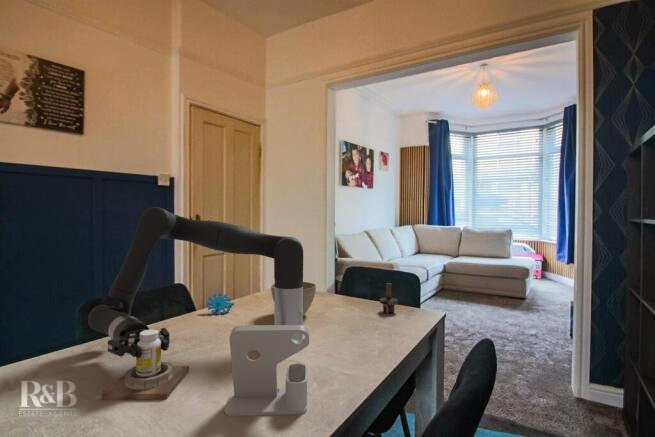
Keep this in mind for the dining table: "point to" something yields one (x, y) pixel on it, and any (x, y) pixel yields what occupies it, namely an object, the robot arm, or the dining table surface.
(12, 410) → the dining table surface
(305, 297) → the flower pot
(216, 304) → the blue spiky rounded piece
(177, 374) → the walnut board
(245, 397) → the white tool holder stand
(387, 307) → the industrial component
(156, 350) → the supplement bottle
